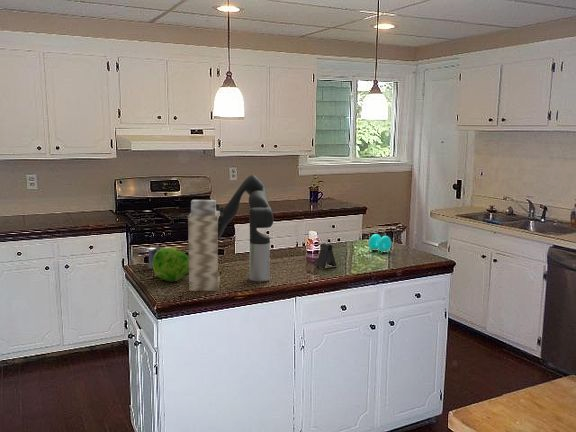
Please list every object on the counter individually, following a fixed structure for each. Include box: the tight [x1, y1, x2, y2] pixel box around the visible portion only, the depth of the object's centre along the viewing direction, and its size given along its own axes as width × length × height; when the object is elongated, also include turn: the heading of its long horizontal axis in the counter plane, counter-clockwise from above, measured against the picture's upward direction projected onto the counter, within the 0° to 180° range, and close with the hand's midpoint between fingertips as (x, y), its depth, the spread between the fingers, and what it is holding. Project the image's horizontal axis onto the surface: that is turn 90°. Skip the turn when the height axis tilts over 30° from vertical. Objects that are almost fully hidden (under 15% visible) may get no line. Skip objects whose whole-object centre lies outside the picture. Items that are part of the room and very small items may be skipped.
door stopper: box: [315, 242, 337, 268], centre depth 270 cm, size 9×6×12 cm, turn 120°
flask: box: [148, 244, 167, 270], centre depth 264 cm, size 10×3×12 cm, turn 133°
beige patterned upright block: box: [187, 211, 221, 292], centre depth 232 cm, size 12×16×32 cm
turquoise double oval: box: [368, 233, 392, 252], centre depth 308 cm, size 10×10×10 cm
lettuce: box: [152, 247, 189, 282], centre depth 242 cm, size 17×20×15 cm
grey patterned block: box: [190, 199, 217, 216], centre depth 235 cm, size 10×23×6 cm, turn 4°
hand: (207, 205), depth 244 cm, fingers open, 8 cm apart
